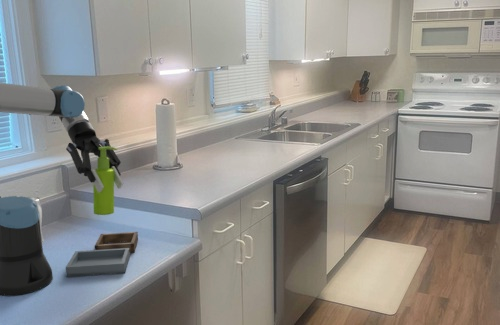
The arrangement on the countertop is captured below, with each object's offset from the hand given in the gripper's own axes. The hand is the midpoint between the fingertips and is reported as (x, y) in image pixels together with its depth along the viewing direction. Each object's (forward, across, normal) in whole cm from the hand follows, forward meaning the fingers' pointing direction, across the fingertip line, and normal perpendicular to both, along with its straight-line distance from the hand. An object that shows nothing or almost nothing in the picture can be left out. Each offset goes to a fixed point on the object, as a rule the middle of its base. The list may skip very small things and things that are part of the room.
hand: (111, 187), depth 145 cm
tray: (+17, +5, -16) cm, 23 cm away
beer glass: (-8, +8, -42) cm, 43 cm away
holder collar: (+10, -7, -22) cm, 25 cm away
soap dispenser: (+3, 0, -9) cm, 9 cm away
